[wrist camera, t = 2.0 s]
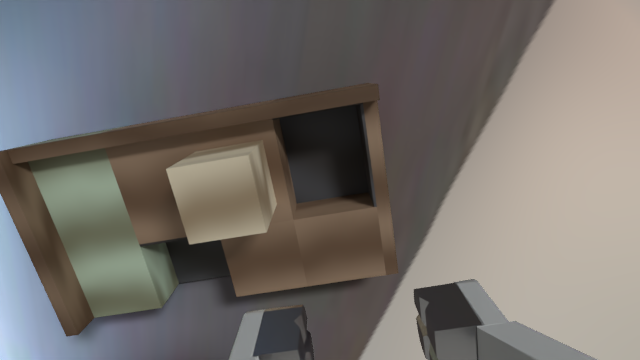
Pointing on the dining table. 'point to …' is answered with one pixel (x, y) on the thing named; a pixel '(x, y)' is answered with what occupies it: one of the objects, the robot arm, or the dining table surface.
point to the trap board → (164, 218)
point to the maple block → (224, 192)
